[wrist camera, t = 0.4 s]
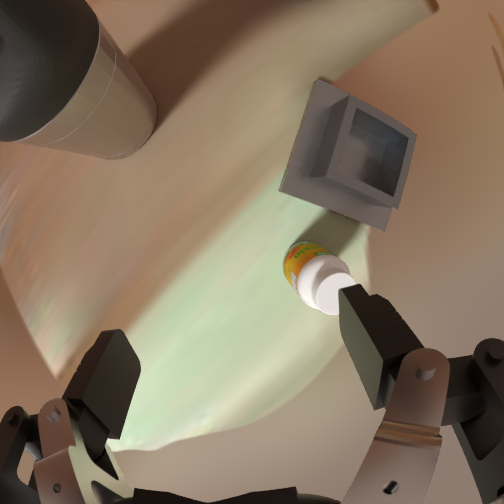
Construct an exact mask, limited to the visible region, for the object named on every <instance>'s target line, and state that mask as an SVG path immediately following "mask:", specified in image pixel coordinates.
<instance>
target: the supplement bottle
mask: <svg viewBox="0 0 504 504" xmlns="http://www.w3.org/2000/svg"><path fill="white" fill-rule="evenodd" d="M283 272H284V275H285V277H286V278H287V280H288V281H289V283H290V284H291V285H292V287H293V288H294V289H295V291H296V292H297V293H298V295H299V296H300V297H301V299H302V300H303V301H304V302H305V303H306V304H307V305H309V306H310V307H312V308H315V309H320V310H321V311H322V312H324V313H326V314H329V315H337V314H339V300H338V290H339V289H340V288H344V287H348V286H352V285H356V284H357V283H356V281H355V279H354V278H353V277H352V276H351V275H350V271H349V269H348V267H347V265H346V264H345V263H344V262H343V261H342V260H341V259H340V258H338V257H337V256H335V255H333V254H332V253H330V252H329V251H327V250H325V249H324V248H322V247H321V246H319V245H317V244H315V243H313V242H307V241H305V242H300V243H297V244H295V245H293V246H292V247H291V248H290V249H289V250H288V251H287V252H286V254H285V256H284V259H283Z"/></svg>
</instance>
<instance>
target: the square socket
mask: <svg viewBox="0 0 504 504" xmlns="http://www.w3.org/2000/svg"><path fill="white" fill-rule="evenodd" d="M416 136H417V135H416V134H415V133H414V132H412V130H410V129H409V128H407V127H406V126H404V125H403V124H401V123H399V122H398V121H396V120H395V119H393V118H391V117H390V116H388V115H386V114H385V113H383V112H382V111H380V110H378V109H376V108H375V107H373V106H371V105H369V104H368V103H366V102H364V101H362V100H360V99H359V98H357V97H355V96H353V95H351V94H349V93H347V92H345V91H343V90H341V89H339V88H337V87H335V86H333V85H331V84H329V83H326V82H324V81H322V80H320V79H317V80H316V81H315V82H314V84H313V87H312V90H311V93H310V97H309V100H308V103H307V106H306V109H305V112H304V115H303V118H302V121H301V124H300V127H299V130H298V133H297V136H296V139H295V142H294V145H293V148H292V152H291V155H290V158H289V161H288V164H287V167H286V170H285V173H284V176H283V179H282V182H281V185H280V188H279V192H282V193H285V194H288V195H291V196H293V197H296V198H299V199H302V200H304V201H307V202H310V203H313V204H315V205H318V206H321V207H323V208H326V209H328V210H331V211H334V212H336V213H339V214H341V215H344V216H346V217H349V218H351V219H354V220H356V221H359V222H361V223H364V224H366V225H368V226H371V227H373V228H376V229H378V230H381V231H385V229H386V226H387V223H388V220H389V217H390V214H391V210H392V209H398V207H399V203H400V200H401V196H402V193H403V189H404V186H405V182H406V178H407V175H408V170H409V167H410V163H411V159H412V154H413V150H414V145H415V141H416Z"/></svg>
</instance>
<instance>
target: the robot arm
mask: <svg viewBox="0 0 504 504" xmlns="http://www.w3.org/2000/svg"><path fill="white" fill-rule="evenodd" d="M156 120H157V107H156V102H155V100H154V98H153V96H152V94H151V93H150V91H149V90H148V88H147V87H146V85H145V84H144V82H143V81H142V79H141V78H140V77H139V75H138V74H137V72H136V71H135V69H134V68H133V67H132V65H131V64H130V62H129V61H128V59H127V58H126V56H125V55H124V54H123V52H122V51H121V49H120V48H119V47H118V45H117V44H116V42H115V41H114V39H113V38H112V37H111V35H110V34H109V33H108V31H107V30H106V28H105V27H104V26H103V24H102V23H101V21H100V20H99V19H98V17H97V16H96V14H95V13H94V11H93V10H92V9H91V7H90V6H89V5H88V4H87V2H86V1H85V0H0V141H4V142H11V143H18V144H25V145H33V146H39V147H46V148H52V149H57V150H63V151H69V152H74V153H79V154H84V155H90V156H95V157H100V158H105V159H119V158H124V157H126V156H129V155H131V154H133V153H134V152H136V151H137V150H138V149H140V148H141V147H142V146H143V145H144V144H145V143H146V141H147V140H148V138H149V137H150V136H151V134H152V132H153V129H154V127H155V124H156ZM338 300H339V322H340V330H341V335H342V338H343V341H344V343H345V345H346V347H347V349H348V352H349V354H350V356H351V358H352V360H353V362H354V365H355V367H356V369H357V372H358V374H359V376H360V379H361V381H362V383H363V385H364V387H365V390H366V392H367V395H368V397H369V399H370V402H371V404H372V406H373V409H374V410H377V409H380V408H383V407H385V409H386V412H385V415H384V417H383V420H382V422H381V424H380V426H379V427H378V430H377V432H376V434H375V436H374V438H373V441H372V443H371V445H370V448H369V450H368V452H367V454H366V456H365V458H364V460H363V463H362V465H361V467H360V469H359V471H358V473H357V475H356V477H355V478H354V480H353V482H352V484H351V486H350V488H349V490H348V491H347V493H346V495H345V497H344V498H343V500H342V502H340V501H338V500H334V499H331V498H328V497H324V496H319V495H312V494H298V492H297V489H296V487H289V488H283V489H275V490H268V491H258V492H250V493H247V494H243V495H240V496H236V497H232V498H228V499H224V500H220V501H216V502H211V503H206V502H201V501H197V500H193V499H190V498H186V497H183V496H179V495H176V494H173V493H170V492H162V491H152V490H144V489H138V488H135V489H134V491H133V490H132V489H131V488H130V487H129V485H128V484H127V482H126V480H125V479H124V477H123V475H122V473H121V471H120V468H119V466H118V464H117V462H116V460H115V458H114V456H113V453H112V451H111V449H110V447H109V446H108V445H107V444H106V441H107V438H110V439H119V440H120V437H121V433H122V430H123V426H124V423H125V420H126V416H127V413H128V410H129V406H130V403H131V400H132V397H133V394H134V391H135V388H136V385H137V382H138V379H139V376H140V372H141V366H140V361H139V359H138V357H137V355H136V353H135V352H134V350H133V348H132V346H131V345H130V343H129V341H128V339H127V338H126V336H125V334H124V332H123V331H122V330H120V329H115V330H107V331H102V332H101V333H100V335H99V337H98V338H97V340H96V342H95V344H94V345H93V346H92V347H91V348H90V349H89V350H88V351H87V352H86V353H85V355H84V357H83V359H82V361H81V364H79V366H78V368H77V372H75V373H74V375H73V377H72V379H71V381H70V383H69V385H68V387H67V389H66V391H65V392H64V394H63V396H62V398H61V399H60V398H55V399H52V400H49V401H48V402H46V403H45V404H44V405H43V407H42V408H41V409H40V411H39V414H36V415H30V416H29V415H28V414H27V413H26V412H25V411H24V409H23V408H22V407H20V406H14V407H12V408H10V409H9V410H8V411H7V412H6V413H5V415H4V417H3V419H2V420H1V423H0V504H422V503H423V501H424V498H425V496H426V493H427V490H428V487H429V485H430V482H431V479H432V476H433V473H434V470H435V466H436V463H437V460H438V456H439V453H440V448H441V444H442V436H441V435H439V431H440V426H446V425H452V427H453V429H454V431H455V434H456V436H457V438H458V440H459V443H460V445H461V447H462V449H463V452H464V454H465V456H466V459H467V461H468V464H469V466H470V469H471V471H472V474H473V477H474V479H475V482H476V485H477V488H478V491H479V493H480V496H481V499H482V503H483V504H504V341H502V340H499V339H495V338H489V339H485V340H483V341H481V342H480V343H479V344H478V345H477V346H476V348H475V351H474V353H473V355H469V356H463V357H457V358H446V356H445V355H443V354H442V353H441V352H439V351H437V350H435V349H430V348H424V346H423V345H422V344H421V342H420V341H419V340H418V338H417V337H416V335H415V334H414V333H413V331H412V330H411V329H410V327H409V326H408V325H407V324H406V322H405V321H404V320H403V319H402V317H401V316H400V315H399V313H398V312H396V309H395V308H394V307H393V306H392V304H391V303H390V302H389V301H388V300H387V299H385V298H383V297H381V296H380V295H378V294H375V295H371V296H369V295H368V293H367V292H366V291H365V289H364V288H363V287H362V285H361V284H356V285H352V286H348V287H344V288H340V289H339V290H338ZM24 450H25V451H27V452H28V453H29V454H30V455H31V456H33V457H34V458H35V459H36V461H35V462H34V464H33V471H32V474H31V478H30V481H29V484H28V486H27V485H25V484H24V483H23V482H22V481H20V479H19V478H18V476H17V467H18V464H19V462H20V459H21V456H22V453H23V451H24Z"/></svg>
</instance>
